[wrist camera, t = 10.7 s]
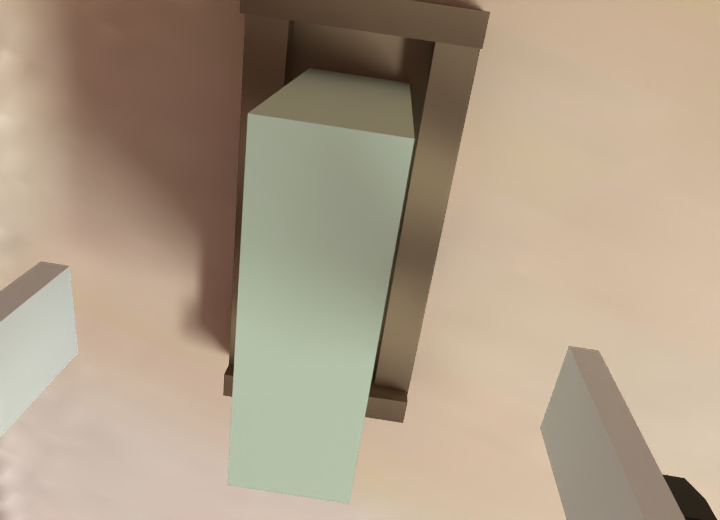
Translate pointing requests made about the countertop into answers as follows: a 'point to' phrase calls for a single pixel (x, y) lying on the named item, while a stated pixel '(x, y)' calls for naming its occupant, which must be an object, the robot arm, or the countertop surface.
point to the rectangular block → (314, 277)
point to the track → (431, 131)
